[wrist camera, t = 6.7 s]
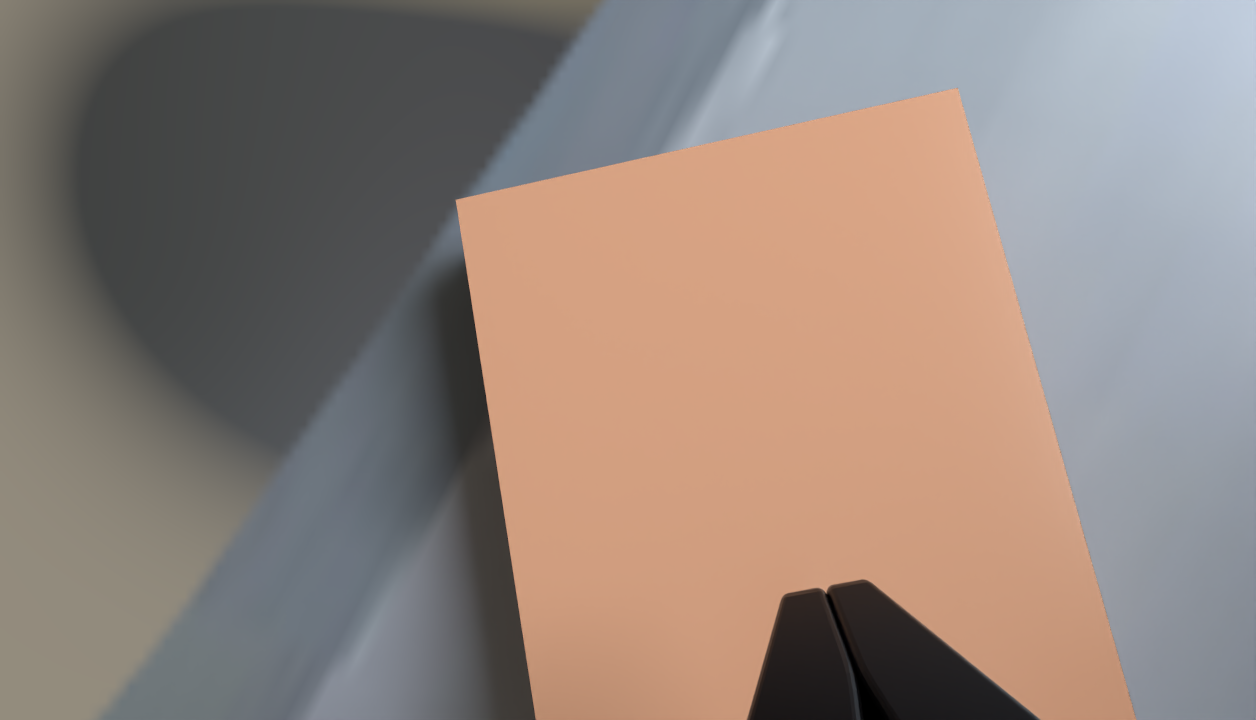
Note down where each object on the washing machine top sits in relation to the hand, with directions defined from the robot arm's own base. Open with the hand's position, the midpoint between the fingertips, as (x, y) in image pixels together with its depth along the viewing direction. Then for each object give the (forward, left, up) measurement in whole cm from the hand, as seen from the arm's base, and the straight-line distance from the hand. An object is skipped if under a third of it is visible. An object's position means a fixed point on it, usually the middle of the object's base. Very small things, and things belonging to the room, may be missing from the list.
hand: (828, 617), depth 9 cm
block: (-1, +3, -6) cm, 6 cm away
